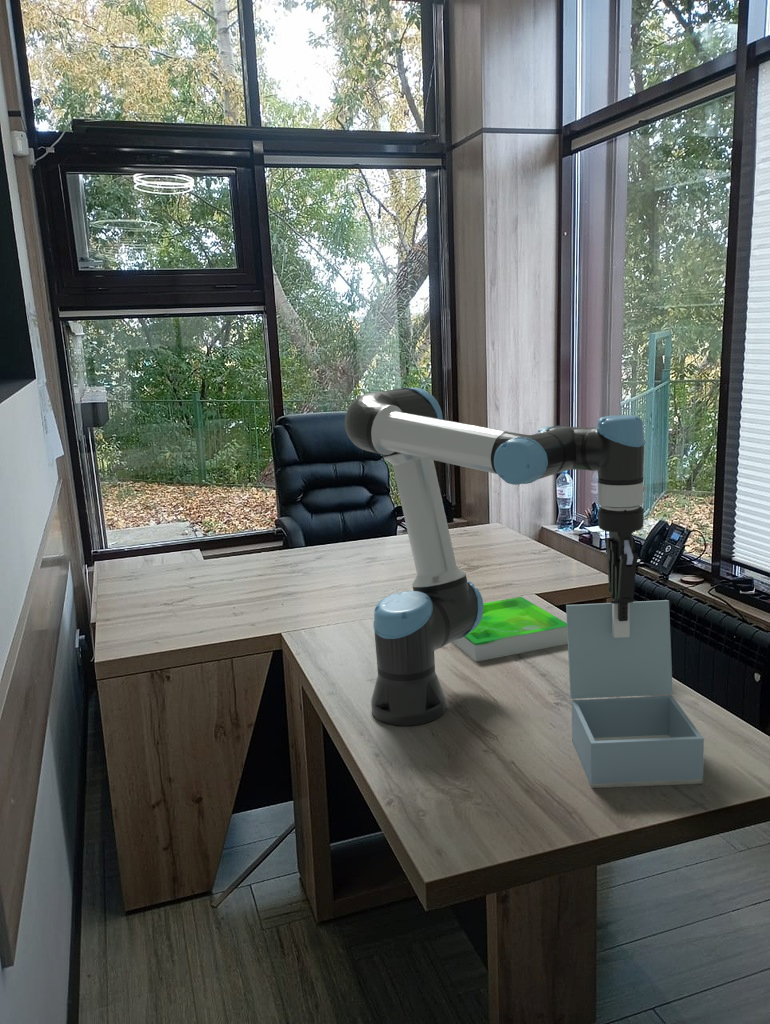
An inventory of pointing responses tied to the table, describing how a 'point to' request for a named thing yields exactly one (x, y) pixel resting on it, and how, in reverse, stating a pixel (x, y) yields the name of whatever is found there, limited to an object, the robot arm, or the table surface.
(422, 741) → the table surface
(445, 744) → the table surface
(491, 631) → the tray
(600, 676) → the lid
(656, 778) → the box
